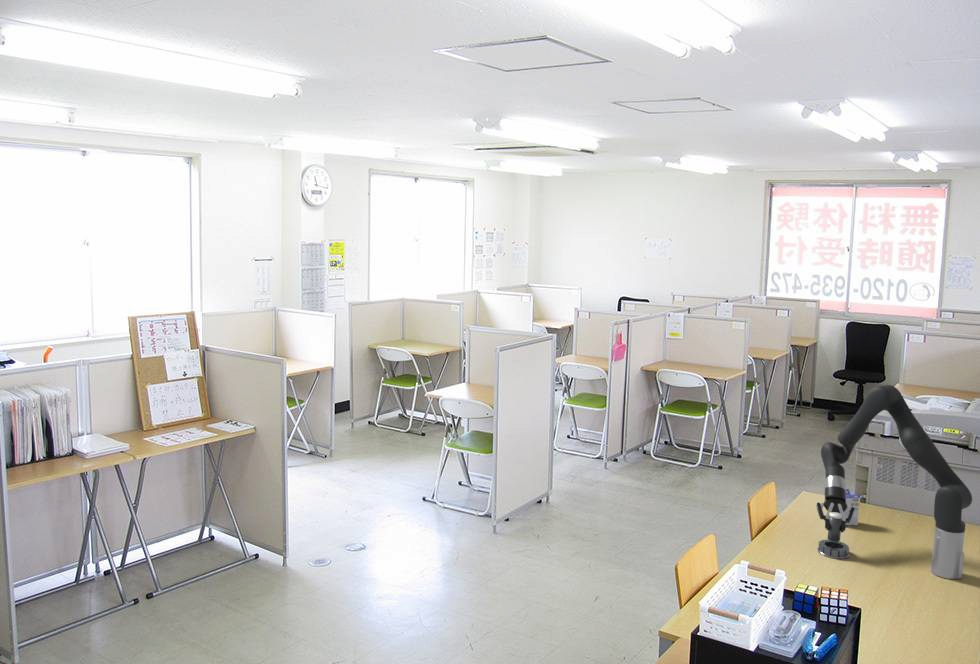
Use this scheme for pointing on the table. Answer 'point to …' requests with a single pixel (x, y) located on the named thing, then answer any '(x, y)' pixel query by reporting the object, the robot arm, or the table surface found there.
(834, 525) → the tube
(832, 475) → the robot arm
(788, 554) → the table surface
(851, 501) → the ink cartridge box
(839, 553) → the dark grey ridged ring
